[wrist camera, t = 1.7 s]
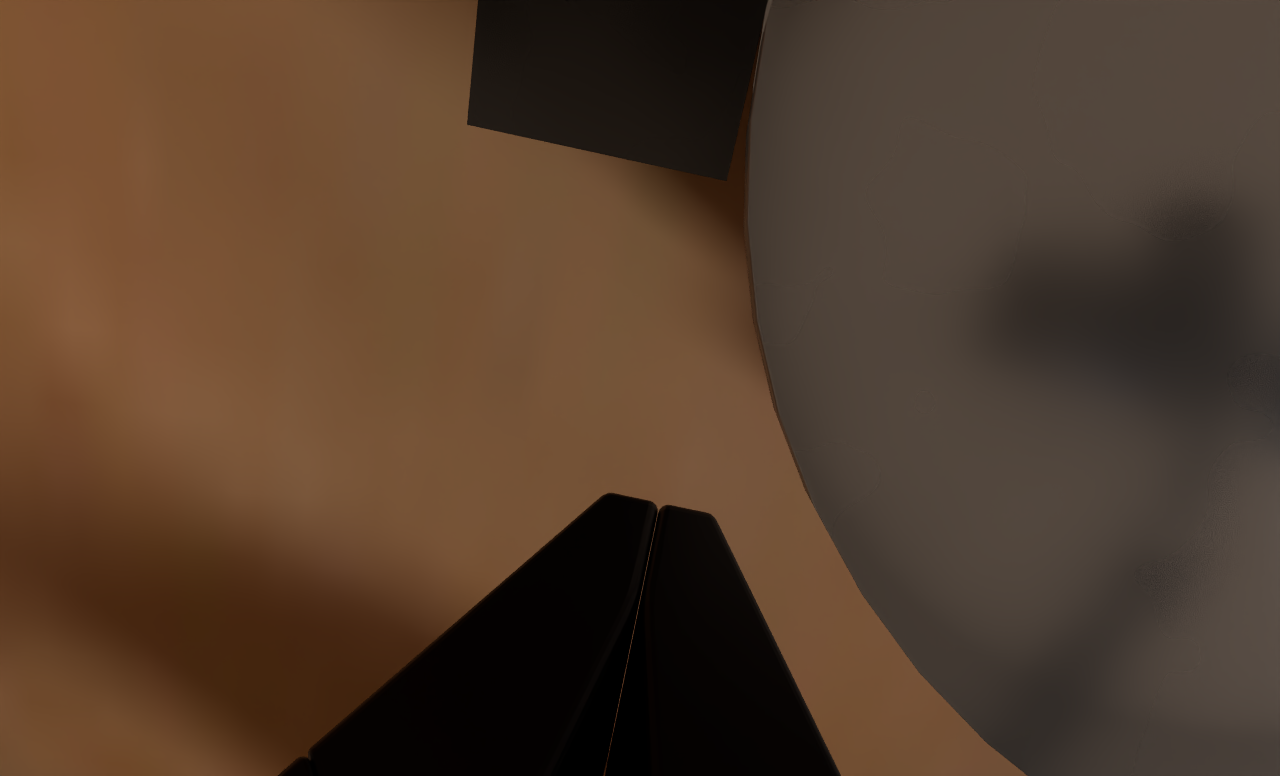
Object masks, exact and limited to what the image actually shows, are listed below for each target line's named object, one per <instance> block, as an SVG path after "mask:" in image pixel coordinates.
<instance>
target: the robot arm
mask: <svg viewBox="0 0 1280 776" xmlns="http://www.w3.org/2000/svg"><path fill="white" fill-rule="evenodd" d="M657 513H658V517H657ZM656 518H657V521H656ZM655 523H656V526H655ZM654 528H655V531H654ZM653 533H654V536H653ZM652 538H653V541H652ZM651 542H652V546H651ZM650 547H651V551H650ZM649 552H650V556H649ZM648 557H649V561H648ZM647 562H648V565H647ZM646 567H647V570H646ZM645 572H646V575H645ZM644 577H645V580H644ZM643 582H644V585H643ZM642 586H643V590H642ZM641 591H642V595H641ZM640 596H641V600H640ZM639 601H640V605H639ZM638 606H639V609H638ZM637 611H638V614H637ZM636 616H637V619H636ZM635 621H636V624H635ZM634 626H635V629H634ZM633 630H634V634H633ZM632 635H633V639H632ZM631 640H632V644H631ZM630 645H631V649H630ZM629 650H630V653H629ZM628 655H629V658H628ZM627 660H628V663H627ZM626 665H627V668H626ZM625 670H626V673H625ZM624 674H625V678H624ZM623 679H624V683H623ZM622 684H623V688H622ZM621 689H622V693H621ZM620 694H621V698H620ZM619 699H620V702H619ZM618 704H619V707H618ZM617 709H618V712H617ZM616 714H617V717H616ZM615 718H616V722H615ZM614 723H615V727H614ZM613 728H614V732H613ZM612 733H613V737H612ZM611 738H612V742H611ZM610 743H611V746H610ZM609 748H610V751H609ZM608 753H609V756H608ZM607 757H608V761H607ZM606 762H607V767H606V773H605V776H841V775H840V773H839V771H838V769H837V767H836V765H835V762H834V760H833V758H832V756H831V754H830V752H829V750H828V748H827V746H826V744H825V742H824V740H823V738H822V736H821V734H820V732H819V730H818V728H817V726H816V724H815V721H814V719H813V717H812V715H811V713H810V711H809V709H808V707H807V705H806V703H805V701H804V699H803V697H802V695H801V693H800V691H799V689H798V687H797V685H796V682H795V680H794V678H793V676H792V674H791V672H790V670H789V668H788V666H787V664H786V662H785V660H784V658H783V656H782V654H781V652H780V650H779V648H778V646H777V644H776V641H775V639H774V637H773V635H772V633H771V631H770V629H769V627H768V625H767V623H766V621H765V619H764V617H763V615H762V613H761V611H760V609H759V607H758V605H757V603H756V600H755V598H754V596H753V594H752V592H751V590H750V588H749V586H748V584H747V582H746V580H745V578H744V576H743V574H742V572H741V570H740V568H739V566H738V564H737V561H736V559H735V557H734V555H733V553H732V551H731V549H730V547H729V545H728V543H727V541H726V539H725V537H724V535H723V533H722V531H721V529H720V527H719V525H718V523H717V521H716V519H715V518H714V517H713V516H712V515H711V514H709V513H706V512H701V511H696V510H691V509H687V508H682V507H677V506H672V505H665V506H663V507H662V508H661V509H660V510H659V512H658V509H657V506H656V505H655V504H654V503H653V502H651V501H648V500H644V499H639V498H634V497H629V496H625V495H620V494H615V493H607V494H604V495H603V496H601V497H600V498H599V499H598V500H597V501H595V502H594V503H593V504H592V505H591V506H590V507H589V508H587V509H586V510H585V511H584V512H583V513H582V514H580V515H579V516H578V517H577V518H576V519H575V520H574V521H572V522H571V523H570V524H569V525H568V526H567V527H565V528H564V529H563V530H562V531H561V532H560V533H558V534H557V535H556V536H555V537H554V538H553V539H552V540H550V541H549V542H548V543H547V544H546V545H545V546H543V547H542V548H541V549H540V550H539V551H538V552H537V553H535V554H534V555H533V556H532V557H531V558H530V559H528V560H527V561H526V562H525V563H524V564H523V565H521V566H520V567H519V568H518V569H517V570H516V571H515V572H513V573H512V574H511V575H510V576H509V577H508V578H506V579H505V580H504V581H503V582H502V583H501V584H500V585H498V586H497V587H496V588H495V589H494V590H493V591H491V592H490V593H489V594H488V595H487V596H486V597H484V598H483V599H482V600H481V601H480V602H479V603H478V604H476V605H475V606H474V607H473V608H472V609H471V610H469V611H468V612H467V613H466V614H465V615H464V616H462V617H461V618H460V619H459V620H458V621H457V622H456V623H454V624H453V625H452V626H451V627H450V628H449V629H447V630H446V631H445V632H444V633H443V634H442V635H441V636H439V637H438V638H437V639H436V640H435V641H434V642H432V643H431V644H430V645H429V646H428V647H427V648H425V649H424V650H423V651H422V652H421V653H420V654H419V655H417V656H416V657H415V658H414V659H413V660H412V661H410V662H409V663H408V664H407V665H406V666H405V667H404V668H402V669H401V670H400V671H399V672H398V673H397V674H395V675H394V676H393V677H392V678H391V679H390V680H388V681H387V682H386V683H385V684H384V685H383V686H382V687H380V688H379V689H378V690H377V691H376V692H375V693H373V694H372V695H371V696H370V697H369V698H368V699H367V700H365V701H364V702H363V703H362V704H361V705H360V706H358V707H357V708H356V709H355V710H354V711H353V712H351V713H350V714H349V715H348V716H347V717H346V718H345V719H343V720H342V721H341V722H340V723H339V724H338V725H336V726H335V727H334V728H333V729H332V730H331V731H330V732H328V733H327V734H326V735H325V736H324V737H323V738H321V739H320V740H319V741H318V742H317V743H316V744H314V745H313V746H312V747H311V748H310V749H309V751H308V758H307V757H299V758H297V759H296V760H295V761H294V762H293V763H292V764H290V765H289V766H288V767H287V768H286V769H285V770H284V771H282V772H281V773H280V774H279V775H278V776H603V775H604V771H605V766H606Z"/></svg>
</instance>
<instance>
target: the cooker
mask: <svg viewBox="0 0 1280 776" xmlns="http://www.w3.org/2000/svg"><path fill="white" fill-rule="evenodd" d="M771 3H772V0H478V8H477V20H476V31H475V42H474V53H473V64H472V76H471V87H470V98H469V109H468V121H467V125H471V126H476V127H480V128H485V129H490V130H494V131H499V132H503V133H508V134H513V135H517V136H522V137H526V138H531V139H536V140H540V141H545V142H549V143H554V144H559V145H563V146H568V147H572V148H577V149H582V150H586V151H591V152H595V153H600V154H605V155H609V156H614V157H618V158H623V159H627V160H632V161H637V162H641V163H646V164H650V165H655V166H660V167H664V168H669V169H673V170H678V171H683V172H687V173H692V174H696V175H701V176H706V177H710V178H715V179H719V180H724V181H727V177H728V172H729V168H730V163H731V159H732V155H733V150H734V146H735V142H736V137H737V133H738V128H739V124H740V120H741V115H742V111H743V107H744V102H745V98H746V94H747V89H748V85H749V80H750V76H751V72H752V67H753V63H754V59H755V54H756V50H757V45H758V41H759V37H760V32H761V28H762V24H763V29H762V35H761V39H762V36H763V32H764V28H765V25H766V21H767V17H768V14H769V10H770V7H771ZM765 10H766V11H765ZM764 15H765V17H764ZM763 19H764V23H763ZM760 45H761V41H760ZM759 51H760V47H759ZM758 58H759V53H758ZM757 64H758V59H757ZM756 70H757V65H756ZM755 76H756V72H755ZM754 83H755V78H754ZM753 89H754V84H753Z"/></svg>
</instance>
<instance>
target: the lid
mask: <svg viewBox="0 0 1280 776" xmlns="http://www.w3.org/2000/svg"><path fill="white" fill-rule="evenodd" d="M743 228H744V238H745V248H746V258H747V268H748V278H749V288H750V297H751V307H752V317H753V323H754V327H755V331H756V335H757V340H758V344H759V348H760V352H761V356H762V361H763V365H764V369H765V373H766V378H767V382H768V386H769V390H770V395H771V399H772V403H773V407H774V410H775V412H776V415H777V418H778V420H779V423H780V425H781V428H782V431H783V433H784V436H785V439H786V441H787V444H788V446H789V449H790V452H791V454H792V457H793V460H794V462H795V465H796V467H797V470H798V473H799V475H800V478H801V480H802V483H803V486H804V488H805V491H806V493H807V494H808V496H809V498H810V500H811V502H812V504H813V506H814V507H815V509H816V511H817V513H818V515H819V517H820V518H821V520H822V522H823V524H824V526H825V528H826V529H827V531H828V533H829V535H830V537H831V539H832V540H833V542H834V544H835V546H836V548H837V550H838V552H839V553H840V555H841V557H842V559H843V561H844V563H845V564H846V566H847V568H848V570H849V572H850V573H851V575H852V577H853V579H854V581H855V582H856V584H857V586H858V588H859V590H860V591H861V593H862V595H863V596H864V598H865V599H866V600H867V602H868V603H869V605H870V606H871V607H872V609H873V610H874V611H875V613H876V614H877V615H878V617H879V618H880V620H881V621H882V622H883V624H884V625H885V626H886V628H887V629H888V631H889V632H890V633H891V635H892V636H893V637H894V639H895V640H896V641H897V643H898V644H899V646H900V647H901V648H902V650H903V651H904V652H905V654H906V655H907V657H908V658H909V659H910V661H911V662H912V663H913V665H914V666H915V667H916V669H917V670H918V672H919V673H920V674H921V675H922V676H923V677H924V678H925V679H926V680H927V681H928V682H929V683H930V684H931V685H932V686H933V687H934V689H935V690H936V691H937V692H938V693H939V694H940V695H941V696H942V697H943V698H944V699H945V700H946V701H947V702H948V703H949V704H950V705H951V706H952V707H953V708H954V709H955V710H956V711H957V713H958V714H959V715H960V716H961V717H962V718H963V719H964V720H965V721H966V722H967V723H968V724H969V725H970V726H971V727H972V728H973V729H974V730H975V731H976V732H977V733H978V734H979V735H980V737H981V738H982V739H983V740H984V741H985V742H986V743H988V744H989V745H990V746H991V747H993V748H994V749H995V750H996V751H998V752H999V753H1000V754H1001V755H1003V756H1004V757H1005V758H1006V759H1008V760H1009V761H1010V762H1011V763H1013V764H1014V765H1015V766H1016V767H1018V768H1019V769H1020V770H1021V771H1023V772H1024V773H1025V774H1026V775H1028V776H1280V0H772V3H771V7H770V10H769V14H768V17H767V21H766V25H765V28H764V32H763V36H762V39H761V45H760V51H759V58H758V64H757V70H756V76H755V83H754V89H753V95H752V101H751V108H750V114H749V120H748V126H747V133H746V159H745V193H744V227H743Z"/></svg>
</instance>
